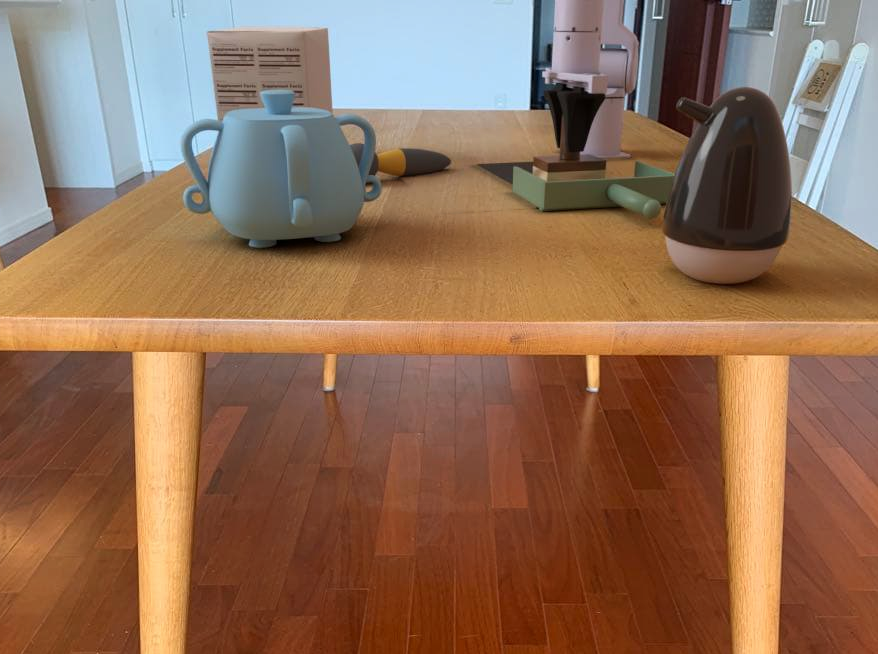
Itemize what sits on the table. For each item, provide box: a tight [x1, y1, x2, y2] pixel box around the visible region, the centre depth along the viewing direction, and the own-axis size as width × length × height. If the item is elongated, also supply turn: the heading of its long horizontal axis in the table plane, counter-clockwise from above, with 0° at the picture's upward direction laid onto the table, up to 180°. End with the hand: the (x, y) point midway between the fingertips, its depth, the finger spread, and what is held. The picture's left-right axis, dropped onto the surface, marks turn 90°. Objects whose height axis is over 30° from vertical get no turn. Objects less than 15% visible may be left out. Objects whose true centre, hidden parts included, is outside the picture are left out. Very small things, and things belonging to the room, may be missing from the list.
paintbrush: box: [349, 142, 452, 177], centre depth 108 cm, size 20×5×5 cm, turn 134°
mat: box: [476, 161, 533, 186], centre depth 112 cm, size 18×13×1 cm
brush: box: [532, 115, 607, 182], centre depth 102 cm, size 5×8×8 cm, turn 106°
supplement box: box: [206, 26, 334, 122], centre depth 116 cm, size 17×13×18 cm
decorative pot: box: [180, 90, 383, 249], centre depth 79 cm, size 16×16×14 cm
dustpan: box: [512, 160, 676, 220], centre depth 93 cm, size 20×17×3 cm
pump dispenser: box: [661, 86, 793, 285], centre depth 66 cm, size 10×10×15 cm
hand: (570, 149), depth 102 cm, fingers closed on brush, 2 cm apart
